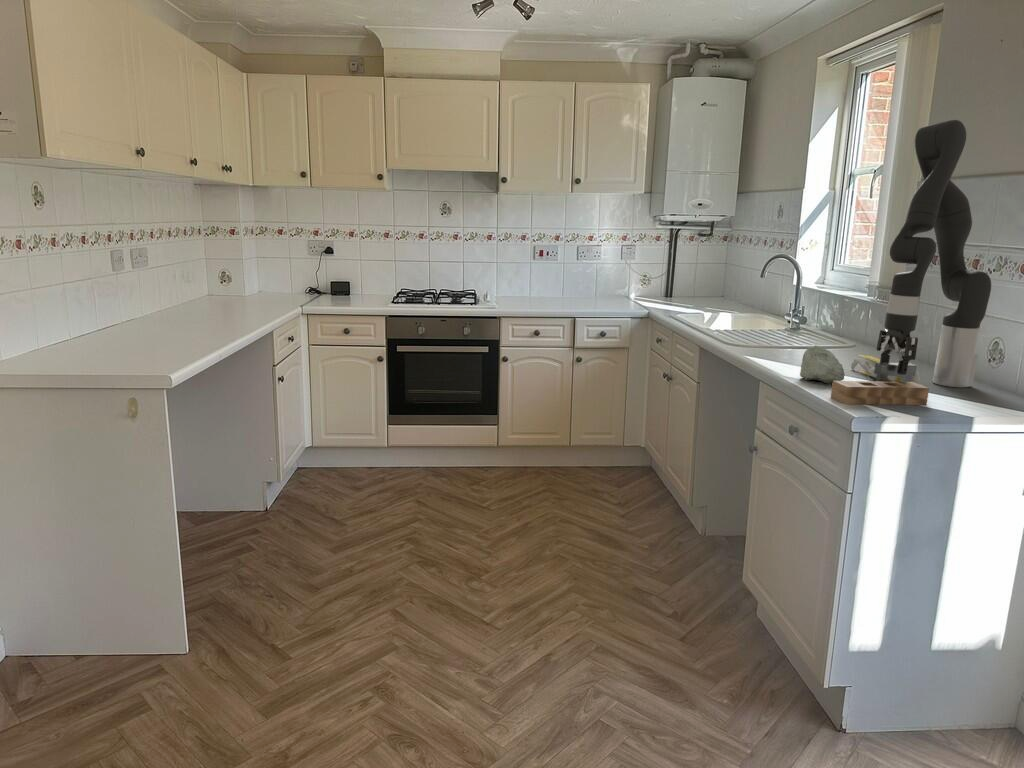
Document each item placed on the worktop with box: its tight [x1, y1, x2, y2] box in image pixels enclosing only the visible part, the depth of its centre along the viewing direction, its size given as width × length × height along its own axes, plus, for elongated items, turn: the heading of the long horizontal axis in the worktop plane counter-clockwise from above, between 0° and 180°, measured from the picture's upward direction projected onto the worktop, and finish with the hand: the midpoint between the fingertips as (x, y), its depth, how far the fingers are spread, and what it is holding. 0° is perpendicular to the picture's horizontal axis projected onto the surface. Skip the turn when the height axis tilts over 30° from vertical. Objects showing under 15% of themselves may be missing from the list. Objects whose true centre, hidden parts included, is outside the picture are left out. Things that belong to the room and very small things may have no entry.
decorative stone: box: [799, 344, 846, 385], centre depth 208 cm, size 14×11×10 cm
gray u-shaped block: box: [874, 362, 918, 382], centre depth 196 cm, size 10×3×8 cm, turn 94°
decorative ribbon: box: [850, 354, 921, 384], centre depth 212 cm, size 8×6×30 cm
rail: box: [830, 380, 930, 406], centre depth 186 cm, size 22×7×4 cm, turn 94°
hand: (892, 370), depth 196 cm, fingers open, 8 cm apart
